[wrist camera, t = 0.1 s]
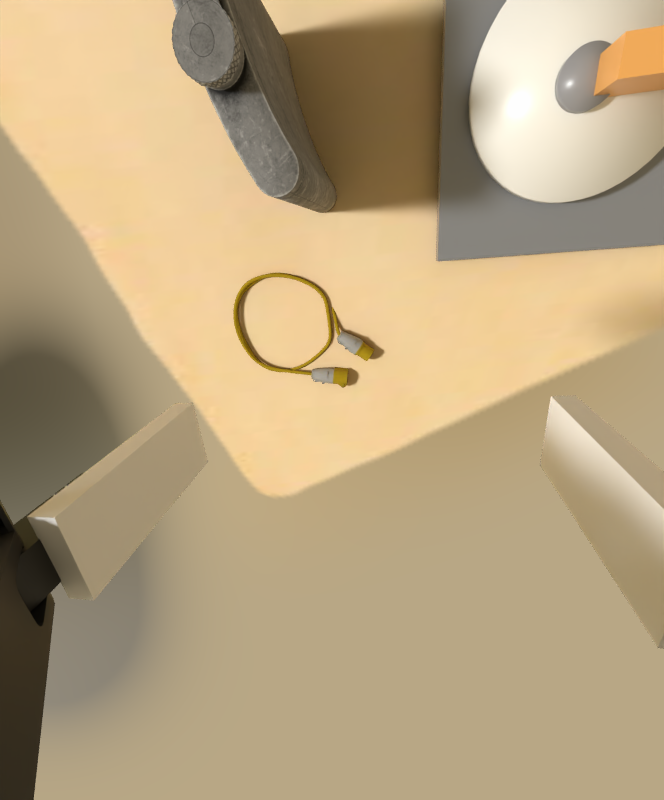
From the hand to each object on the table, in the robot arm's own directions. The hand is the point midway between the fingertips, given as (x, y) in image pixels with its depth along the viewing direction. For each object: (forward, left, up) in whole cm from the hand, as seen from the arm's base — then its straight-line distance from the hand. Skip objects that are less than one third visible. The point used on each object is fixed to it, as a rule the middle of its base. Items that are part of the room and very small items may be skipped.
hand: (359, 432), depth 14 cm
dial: (-16, +16, -26) cm, 35 cm away
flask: (-16, -7, -28) cm, 33 cm away
